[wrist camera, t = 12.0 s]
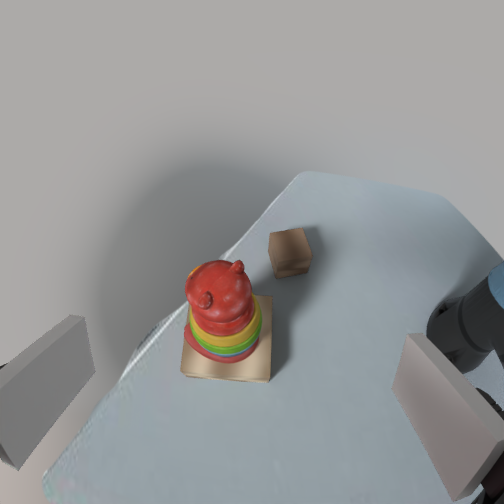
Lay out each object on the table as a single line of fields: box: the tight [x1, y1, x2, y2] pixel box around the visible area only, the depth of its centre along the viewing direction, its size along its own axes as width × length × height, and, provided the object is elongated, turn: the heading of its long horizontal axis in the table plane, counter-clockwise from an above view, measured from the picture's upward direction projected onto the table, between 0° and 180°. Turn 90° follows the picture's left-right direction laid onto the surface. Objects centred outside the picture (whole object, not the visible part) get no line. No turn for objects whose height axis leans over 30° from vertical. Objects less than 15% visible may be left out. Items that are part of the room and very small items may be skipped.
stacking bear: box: [184, 260, 262, 364], centre depth 37 cm, size 11×10×18 cm
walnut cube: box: [268, 228, 313, 279], centre depth 55 cm, size 6×6×6 cm
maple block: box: [180, 295, 272, 383], centre depth 47 cm, size 13×13×5 cm
